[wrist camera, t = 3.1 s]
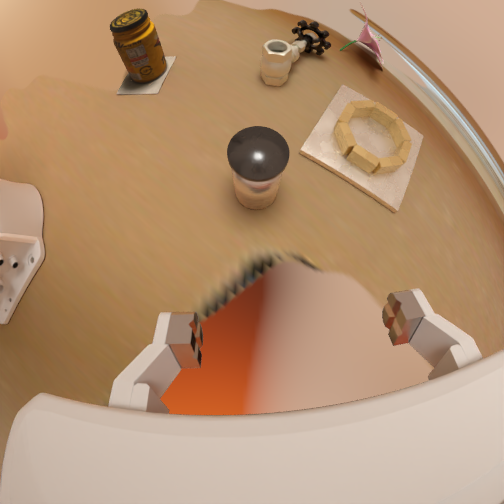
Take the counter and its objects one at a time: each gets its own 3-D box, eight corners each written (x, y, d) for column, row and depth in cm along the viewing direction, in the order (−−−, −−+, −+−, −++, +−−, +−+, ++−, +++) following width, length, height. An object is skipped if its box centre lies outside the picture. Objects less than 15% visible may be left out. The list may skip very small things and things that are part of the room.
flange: (394, 212, 31) (407, 205, 28) (299, 153, 32) (304, 139, 29) (420, 139, 33) (431, 128, 30) (340, 88, 34) (346, 74, 31)
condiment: (176, 57, 35) (160, 2, 23) (158, 94, 34) (133, 36, 22) (137, 59, 35) (115, 9, 23) (117, 95, 34) (85, 45, 22)
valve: (284, 96, 34) (326, 59, 35) (290, 64, 27) (335, 31, 29) (246, 76, 34) (292, 42, 36) (246, 44, 28) (297, 13, 29)
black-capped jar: (264, 219, 31) (270, 190, 22) (224, 197, 31) (215, 160, 22) (286, 183, 32) (299, 143, 22) (248, 162, 32) (247, 117, 23)
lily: (364, 91, 35) (410, 63, 27) (310, 38, 32) (353, 2, 23) (373, 70, 40) (409, 47, 32) (329, 27, 37) (364, -1, 29)
